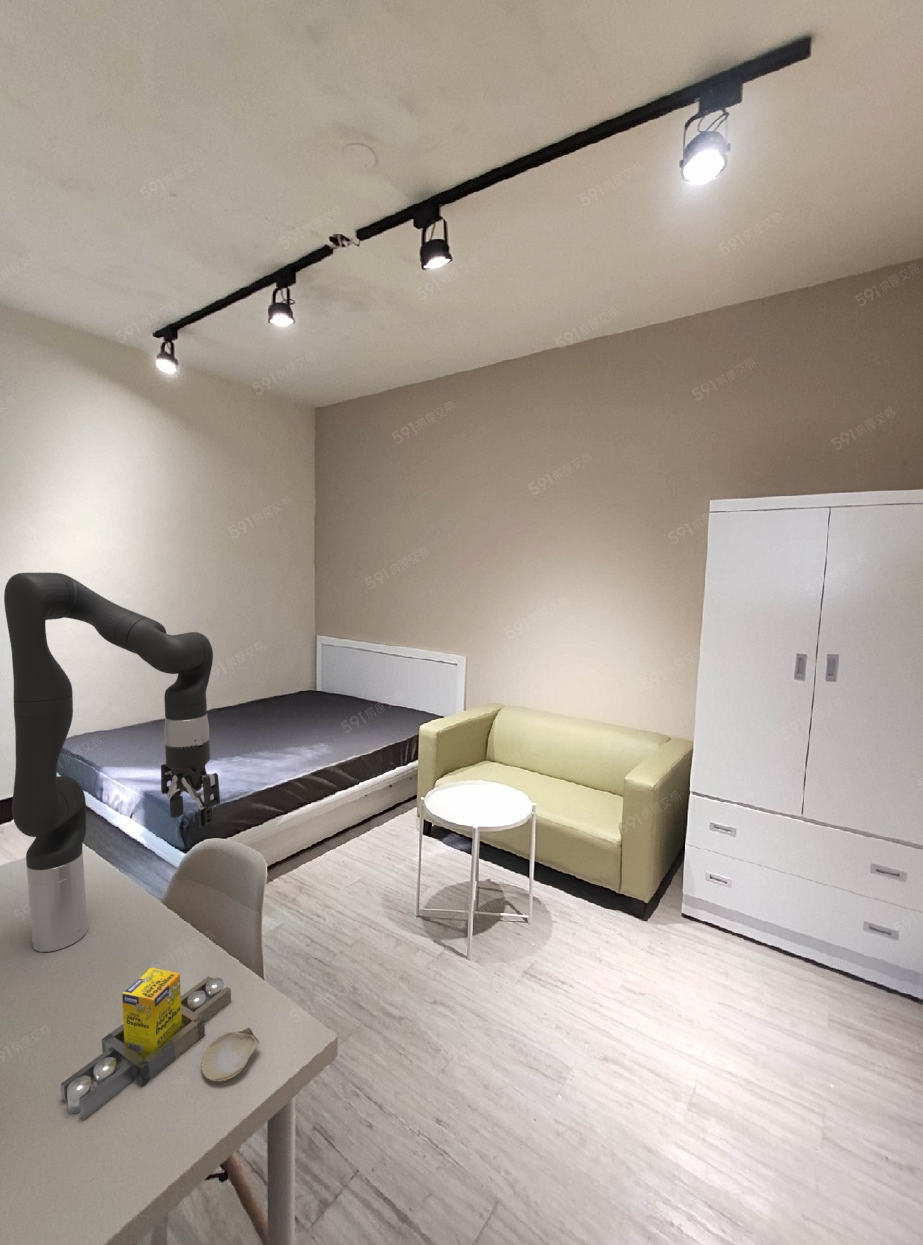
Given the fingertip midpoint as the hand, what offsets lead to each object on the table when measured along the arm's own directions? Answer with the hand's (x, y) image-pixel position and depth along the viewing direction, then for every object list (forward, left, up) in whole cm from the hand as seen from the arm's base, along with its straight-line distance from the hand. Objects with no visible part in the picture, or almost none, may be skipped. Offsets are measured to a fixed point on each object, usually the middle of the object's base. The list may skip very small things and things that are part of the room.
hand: (191, 821), depth 105 cm
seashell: (+25, -12, -29) cm, 40 cm away
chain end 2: (+12, -10, -28) cm, 32 cm away
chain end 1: (+12, -22, -28) cm, 38 cm away
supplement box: (+12, -16, -28) cm, 35 cm away
